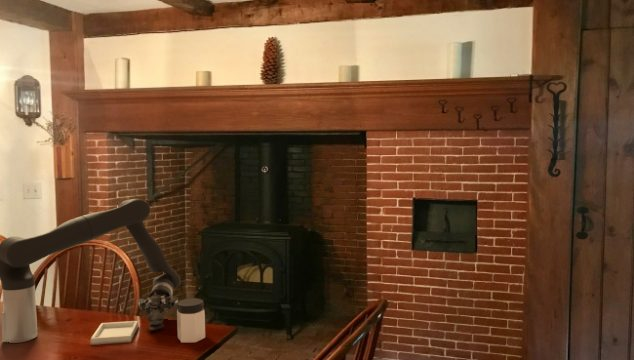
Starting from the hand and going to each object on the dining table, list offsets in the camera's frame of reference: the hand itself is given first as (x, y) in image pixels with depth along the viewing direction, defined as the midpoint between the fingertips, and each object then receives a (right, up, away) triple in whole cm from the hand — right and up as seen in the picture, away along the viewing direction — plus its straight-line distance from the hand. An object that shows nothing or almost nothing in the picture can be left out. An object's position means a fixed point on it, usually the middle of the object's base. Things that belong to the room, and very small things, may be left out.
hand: (154, 310), depth 174 cm
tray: (-13, -8, 0) cm, 15 cm away
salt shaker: (0, -6, +3) cm, 7 cm away
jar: (+13, -8, -3) cm, 16 cm away
